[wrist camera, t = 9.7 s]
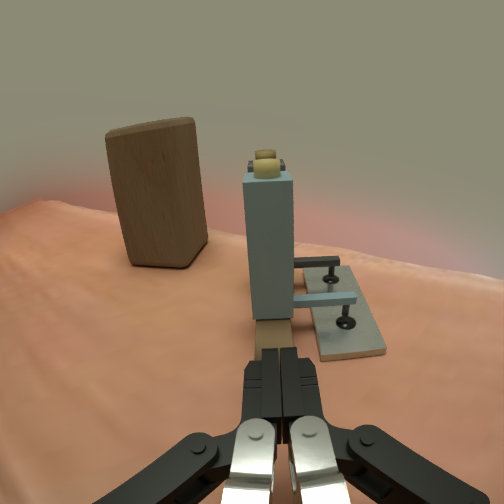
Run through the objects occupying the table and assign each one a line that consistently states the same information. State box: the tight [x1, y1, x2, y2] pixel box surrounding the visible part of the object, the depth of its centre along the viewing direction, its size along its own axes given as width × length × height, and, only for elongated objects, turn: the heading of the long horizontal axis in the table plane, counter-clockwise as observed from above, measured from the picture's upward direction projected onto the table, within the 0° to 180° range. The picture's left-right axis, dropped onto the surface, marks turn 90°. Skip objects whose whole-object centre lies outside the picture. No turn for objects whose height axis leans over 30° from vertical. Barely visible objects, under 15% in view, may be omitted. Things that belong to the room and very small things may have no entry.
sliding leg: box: [243, 158, 357, 320], centre depth 25 cm, size 4×10×15 cm, turn 88°
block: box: [105, 117, 208, 267], centre depth 41 cm, size 10×10×20 cm
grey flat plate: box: [303, 266, 387, 361], centre depth 30 cm, size 15×6×1 cm, turn 178°
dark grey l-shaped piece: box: [248, 150, 340, 369], centre depth 24 cm, size 22×10×16 cm, turn 178°
